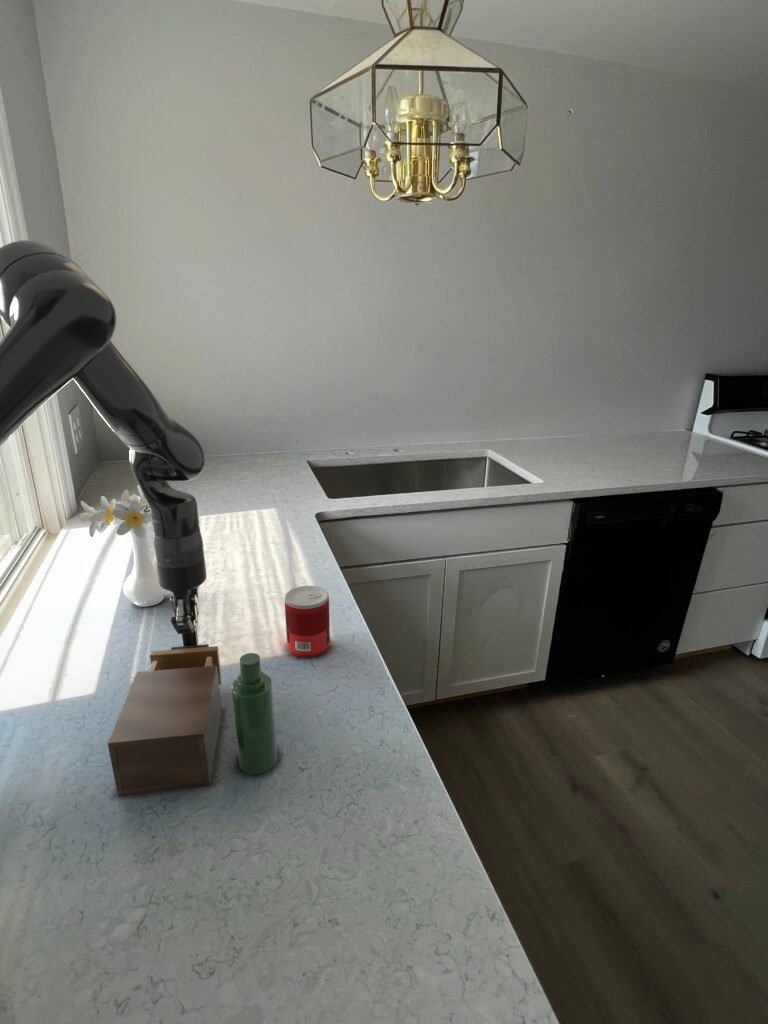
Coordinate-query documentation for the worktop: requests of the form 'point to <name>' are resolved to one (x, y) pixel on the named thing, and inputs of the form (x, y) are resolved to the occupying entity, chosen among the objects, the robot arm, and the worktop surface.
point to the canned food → (307, 621)
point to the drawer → (186, 658)
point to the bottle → (254, 717)
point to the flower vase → (144, 572)
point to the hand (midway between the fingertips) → (191, 646)
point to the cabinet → (167, 730)
